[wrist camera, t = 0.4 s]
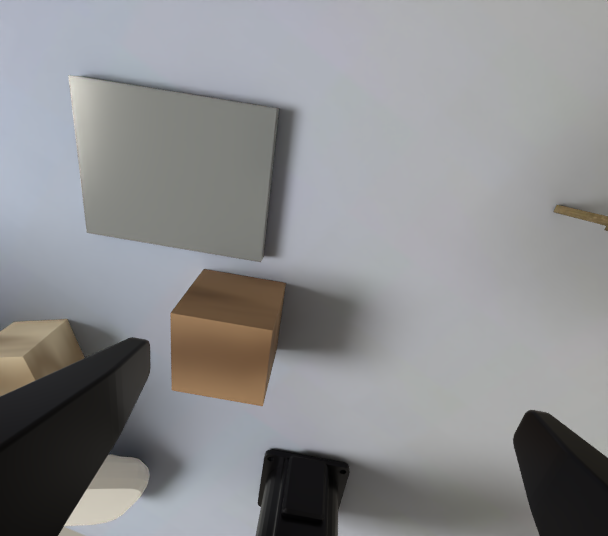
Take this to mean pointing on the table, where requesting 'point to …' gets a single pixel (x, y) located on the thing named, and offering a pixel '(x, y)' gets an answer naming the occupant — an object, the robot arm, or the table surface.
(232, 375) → the walnut cube
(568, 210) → the miniature windmill
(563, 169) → the table surface
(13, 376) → the maple cube
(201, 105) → the plate
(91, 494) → the white elongated block
